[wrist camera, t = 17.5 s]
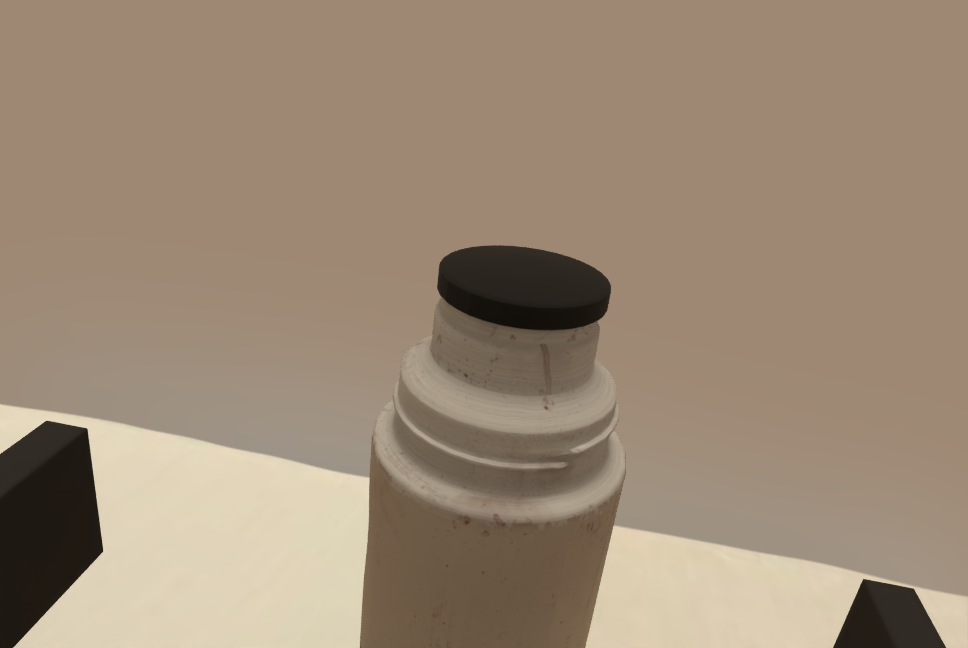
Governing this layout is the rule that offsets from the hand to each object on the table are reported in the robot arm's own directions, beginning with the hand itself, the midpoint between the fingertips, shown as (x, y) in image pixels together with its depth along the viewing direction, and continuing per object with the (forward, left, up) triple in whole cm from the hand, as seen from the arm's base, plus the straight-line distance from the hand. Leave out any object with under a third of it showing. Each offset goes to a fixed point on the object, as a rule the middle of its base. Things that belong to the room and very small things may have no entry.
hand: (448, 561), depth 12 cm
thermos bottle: (-2, +9, -26) cm, 28 cm away
